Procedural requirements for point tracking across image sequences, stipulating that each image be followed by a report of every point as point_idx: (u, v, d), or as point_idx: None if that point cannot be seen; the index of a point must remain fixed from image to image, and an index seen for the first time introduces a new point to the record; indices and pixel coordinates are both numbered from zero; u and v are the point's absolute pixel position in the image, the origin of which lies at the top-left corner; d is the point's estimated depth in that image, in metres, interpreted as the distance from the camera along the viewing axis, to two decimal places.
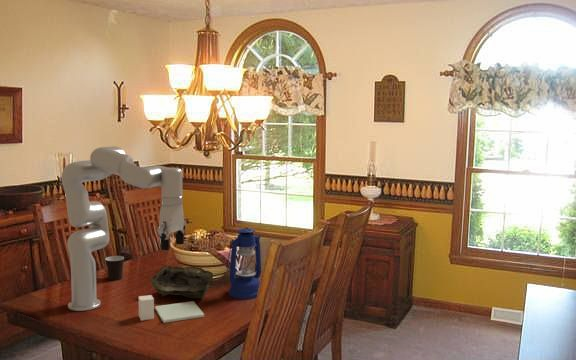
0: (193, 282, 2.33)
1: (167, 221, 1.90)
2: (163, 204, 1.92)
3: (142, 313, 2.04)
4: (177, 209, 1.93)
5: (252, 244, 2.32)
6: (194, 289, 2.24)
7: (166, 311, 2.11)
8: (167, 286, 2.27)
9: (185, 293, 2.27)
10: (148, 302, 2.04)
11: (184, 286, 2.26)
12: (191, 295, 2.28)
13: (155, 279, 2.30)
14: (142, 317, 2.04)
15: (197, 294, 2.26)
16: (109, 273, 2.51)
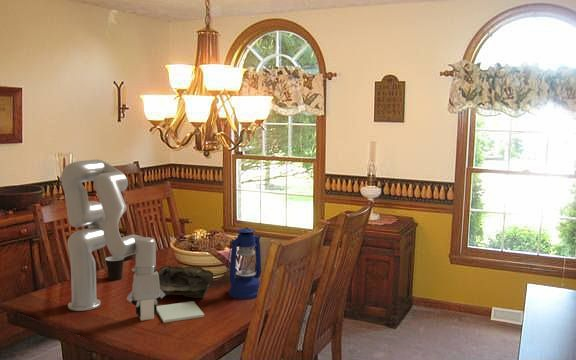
0: (193, 282, 2.33)
1: None
2: (155, 271, 2.05)
3: (142, 313, 2.04)
4: None
5: (252, 244, 2.32)
6: (195, 289, 2.24)
7: (166, 311, 2.11)
8: (167, 286, 2.27)
9: (186, 293, 2.27)
10: (148, 302, 2.04)
11: (185, 286, 2.26)
12: (192, 295, 2.28)
13: None
14: (142, 317, 2.04)
15: (198, 294, 2.26)
16: (109, 273, 2.51)
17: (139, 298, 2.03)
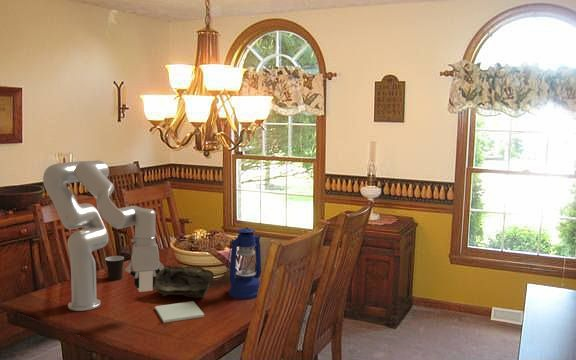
0: (193, 282, 2.33)
1: None
2: (154, 243, 2.04)
3: (141, 284, 2.03)
4: None
5: (252, 244, 2.32)
6: (195, 288, 2.24)
7: (166, 311, 2.11)
8: (168, 286, 2.27)
9: (186, 293, 2.28)
10: (147, 273, 2.03)
11: (185, 286, 2.26)
12: (192, 294, 2.28)
13: (155, 279, 2.31)
14: (140, 288, 2.03)
15: (198, 293, 2.27)
16: (109, 273, 2.51)
17: (138, 269, 2.01)
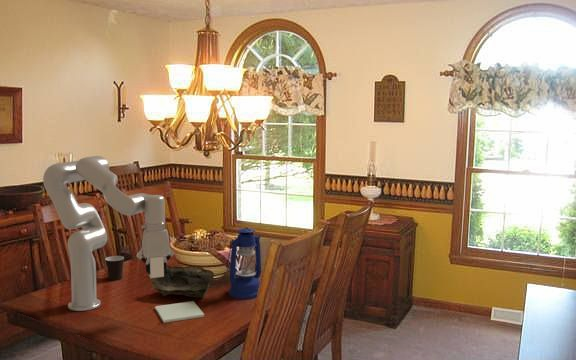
0: (193, 281, 2.34)
1: None
2: (164, 229, 2.05)
3: (152, 270, 2.03)
4: None
5: (252, 244, 2.32)
6: (195, 288, 2.25)
7: (166, 311, 2.11)
8: (168, 285, 2.27)
9: (186, 292, 2.28)
10: (157, 259, 2.04)
11: (185, 285, 2.26)
12: (192, 294, 2.28)
13: (155, 279, 2.31)
14: (152, 274, 2.04)
15: (198, 293, 2.27)
16: (109, 273, 2.51)
17: (149, 255, 2.02)
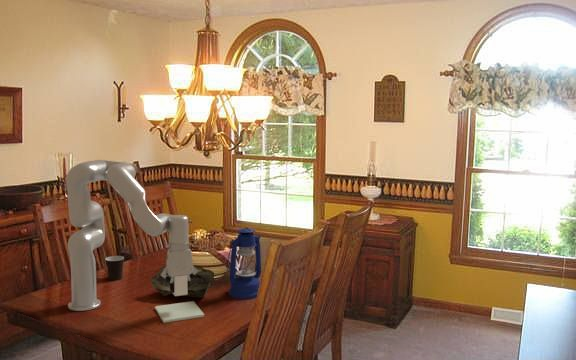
0: (193, 281, 2.34)
1: None
2: (188, 248, 2.10)
3: (176, 289, 2.09)
4: None
5: (252, 244, 2.32)
6: (196, 288, 2.25)
7: (166, 311, 2.11)
8: (168, 285, 2.27)
9: None
10: (181, 278, 2.09)
11: None
12: (192, 294, 2.29)
13: (155, 279, 2.31)
14: (176, 293, 2.09)
15: (199, 293, 2.27)
16: (109, 273, 2.51)
17: (173, 274, 2.07)
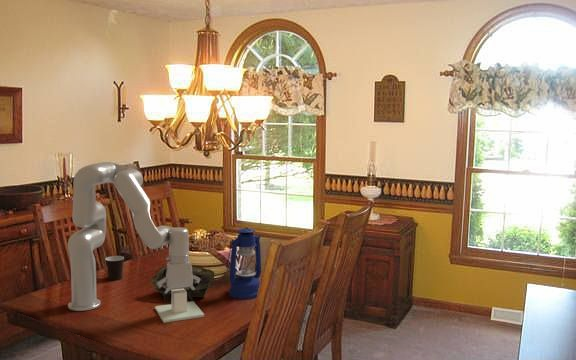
0: (193, 281, 2.34)
1: None
2: (188, 260, 2.11)
3: (175, 306, 2.09)
4: None
5: (252, 244, 2.32)
6: (196, 288, 2.25)
7: (166, 311, 2.11)
8: None
9: (187, 292, 2.28)
10: (181, 295, 2.10)
11: None
12: None
13: (155, 279, 2.31)
14: (175, 310, 2.10)
15: (199, 293, 2.28)
16: (109, 273, 2.51)
17: (173, 286, 2.08)
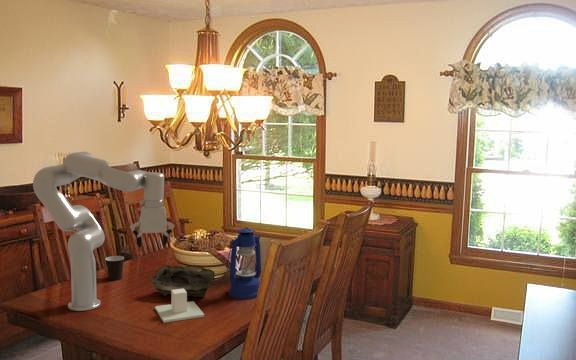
0: (193, 281, 2.35)
1: None
2: (162, 206, 2.09)
3: (175, 306, 2.09)
4: None
5: (252, 244, 2.32)
6: (197, 287, 2.26)
7: (166, 311, 2.11)
8: (169, 285, 2.28)
9: (187, 292, 2.29)
10: (181, 295, 2.10)
11: (186, 285, 2.27)
12: (193, 294, 2.29)
13: (155, 279, 2.31)
14: (175, 310, 2.10)
15: (199, 292, 2.28)
16: (109, 273, 2.51)
17: (146, 231, 2.07)
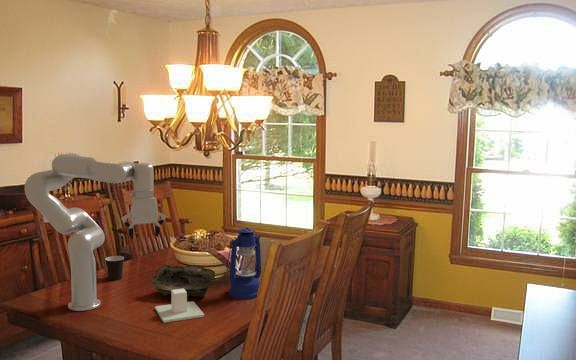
0: (193, 280, 2.35)
1: None
2: (153, 196, 2.10)
3: (175, 306, 2.09)
4: None
5: (252, 244, 2.32)
6: (197, 287, 2.26)
7: (166, 311, 2.11)
8: (169, 285, 2.28)
9: (187, 292, 2.29)
10: (181, 295, 2.10)
11: (186, 285, 2.28)
12: (193, 293, 2.30)
13: (156, 279, 2.31)
14: (175, 310, 2.10)
15: (199, 292, 2.28)
16: (109, 273, 2.51)
17: (137, 222, 2.07)
